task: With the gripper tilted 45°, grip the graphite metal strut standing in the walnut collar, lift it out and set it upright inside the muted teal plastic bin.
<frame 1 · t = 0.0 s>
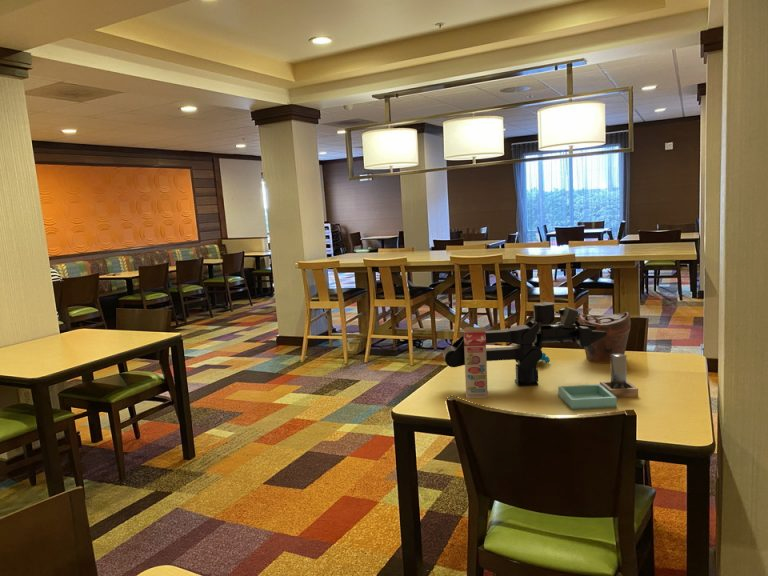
hand: (601, 330, 195), 17 cm above the table, tool horizontal, fingers open, 9 cm apart
broken terracotta flower pot: (603, 359, 221), on the table
gear: (537, 363, 221), on the table
collar: (618, 392, 183), on the table
strut: (618, 374, 182), in the collar
juice carton: (477, 395, 189), on the table
bin: (586, 401, 177), on the table
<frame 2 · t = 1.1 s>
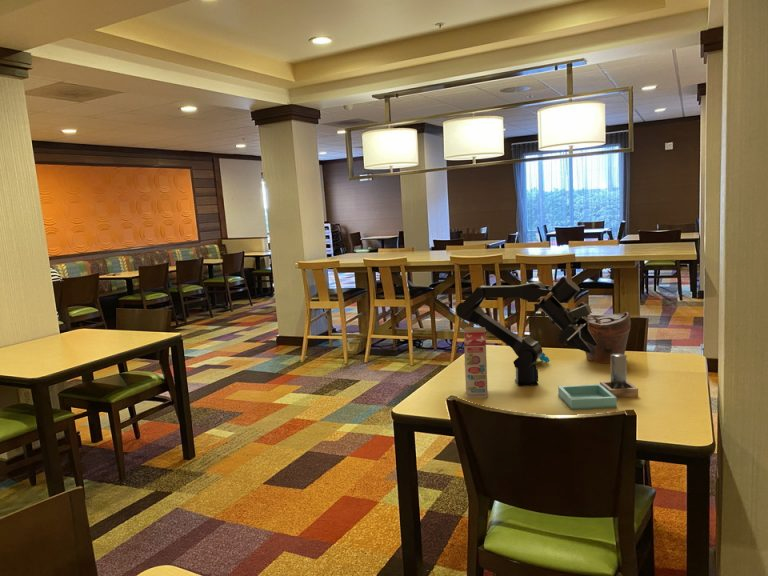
hand: (593, 348, 185), 14 cm above the table, tool tilted 45°, fingers open, 9 cm apart
nothing on the table moved.
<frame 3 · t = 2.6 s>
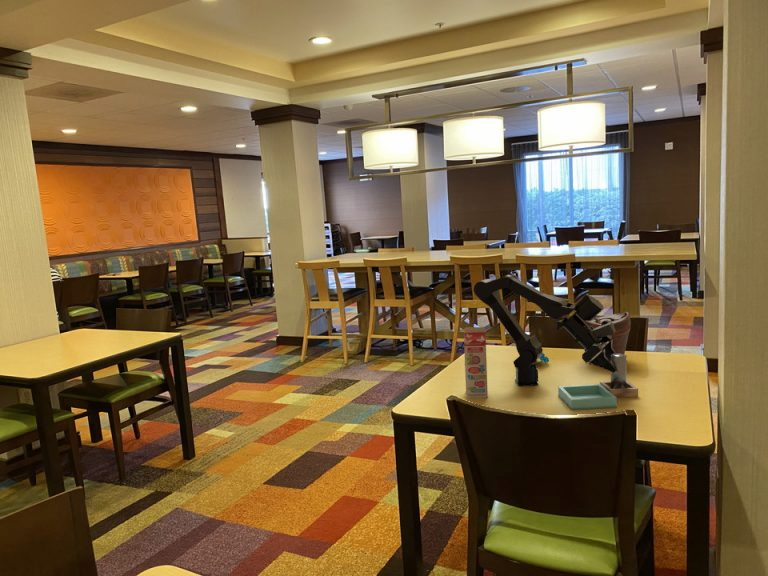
hand: (617, 367, 182), 8 cm above the table, tool tilted 45°, fingers open, 9 cm apart
nothing on the table moved.
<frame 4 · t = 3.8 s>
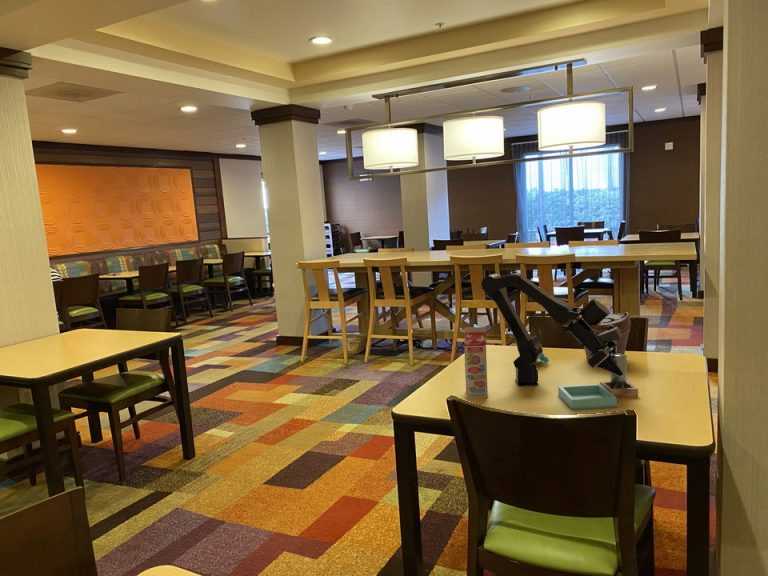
hand: (623, 372, 181), 7 cm above the table, tool tilted 45°, fingers closed on strut, 4 cm apart
strut: (618, 374, 182), in the collar, touching gripper
everything else where it was.
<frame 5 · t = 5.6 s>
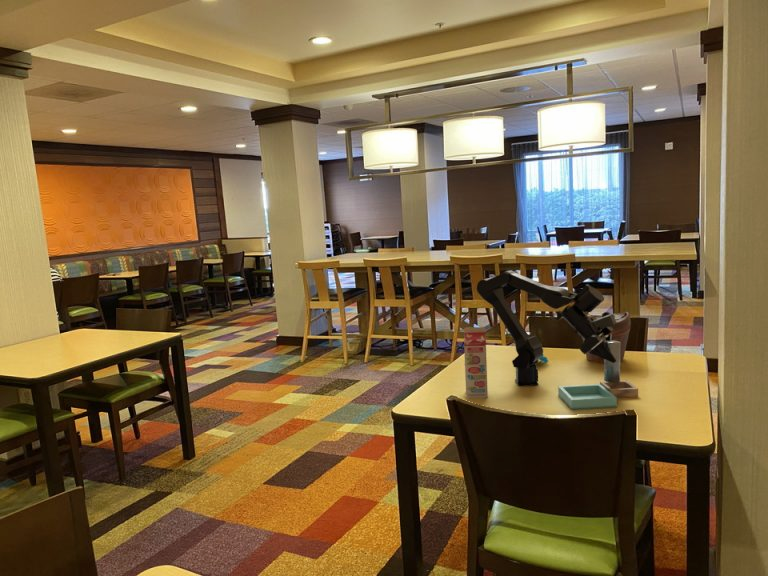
hand: (617, 360, 178), 11 cm above the table, tool tilted 45°, fingers closed on strut, 4 cm apart
strut: (612, 361, 179), point 11 cm above the table, touching gripper
everything else where it was.
when the fingers open (9 cm above the table, at t = 7.7 s): strut drops 1 cm, resting on bin.
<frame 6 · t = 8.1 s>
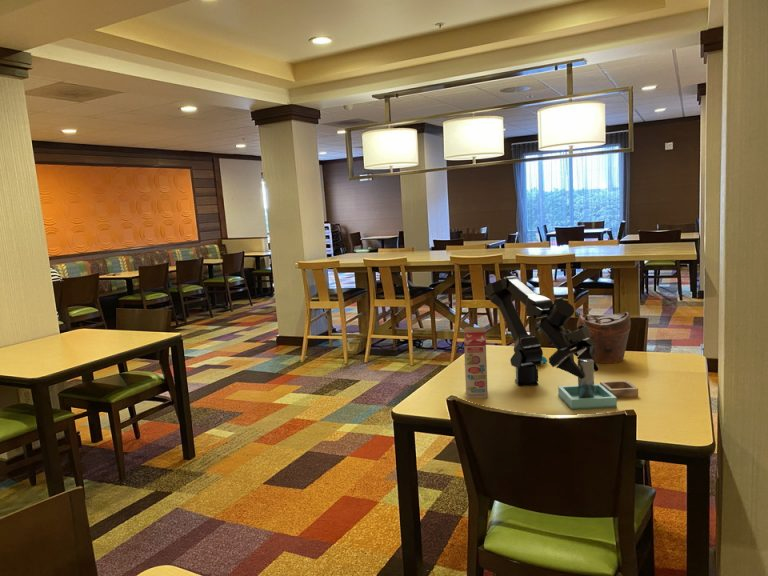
hand: (590, 374, 175), 9 cm above the table, tool tilted 45°, fingers open, 9 cm apart
strut: (585, 380, 176), in the bin, point 7 cm above the table
everything else where it was.
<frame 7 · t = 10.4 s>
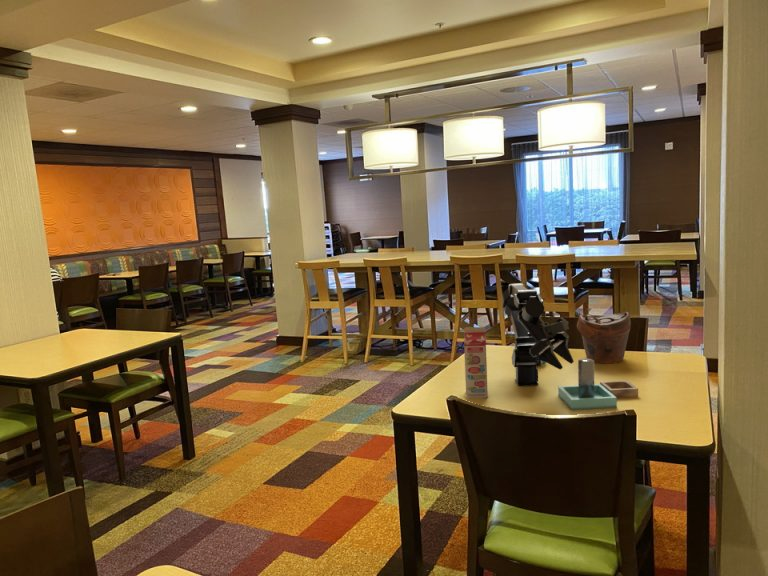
hand: (567, 365, 181), 10 cm above the table, tool tilted 40°, fingers open, 9 cm apart
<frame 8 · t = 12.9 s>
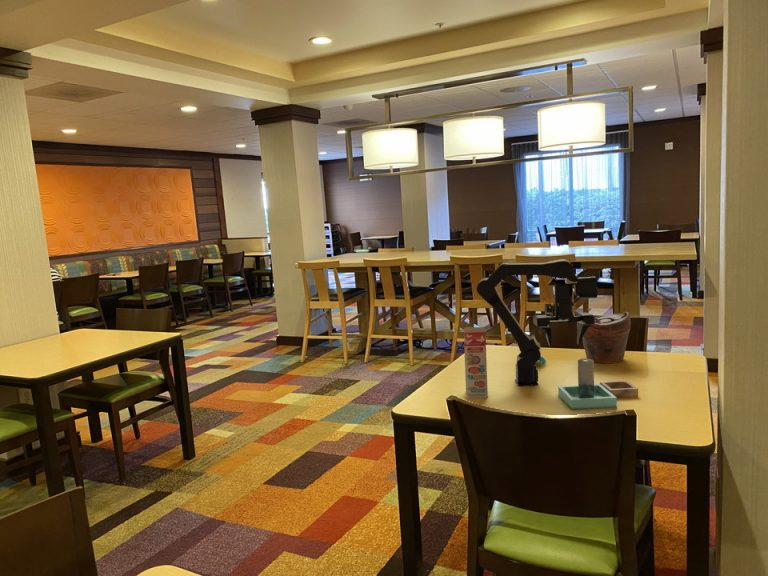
hand: (564, 345, 193), 13 cm above the table, tool pointing down, fingers open, 9 cm apart
at the end: strut inside the target area on the bin (0.1 cm from its centre), point 6.6 cm above the bin's base; strut tilted 0°; the gripper is holding nothing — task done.
